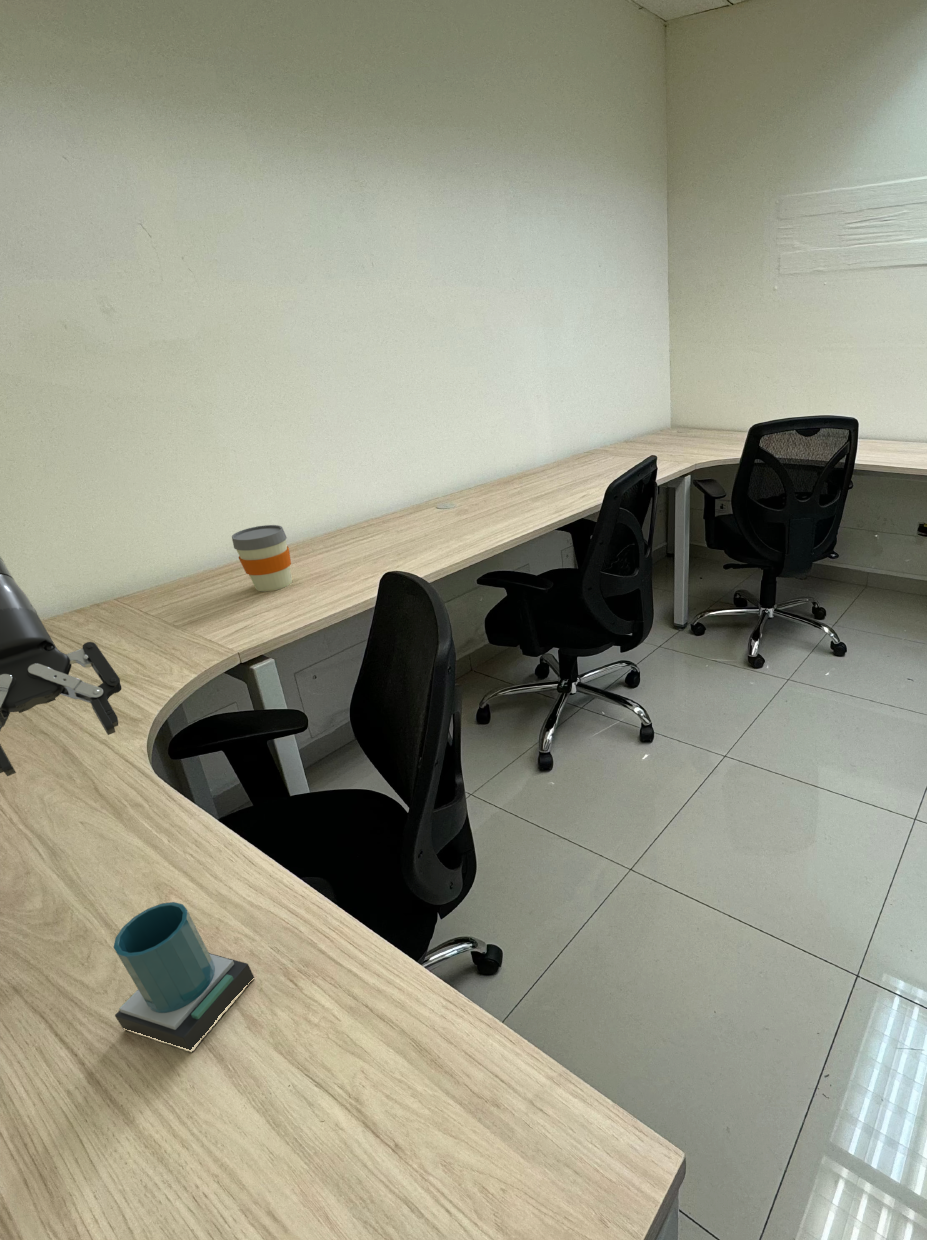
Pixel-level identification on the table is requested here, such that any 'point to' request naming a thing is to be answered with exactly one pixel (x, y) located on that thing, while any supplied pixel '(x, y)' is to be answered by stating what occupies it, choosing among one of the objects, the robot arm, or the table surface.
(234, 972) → the scale
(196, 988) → the ceramic cup
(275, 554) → the reusable coffee cup
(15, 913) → the table surface
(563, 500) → the table surface
